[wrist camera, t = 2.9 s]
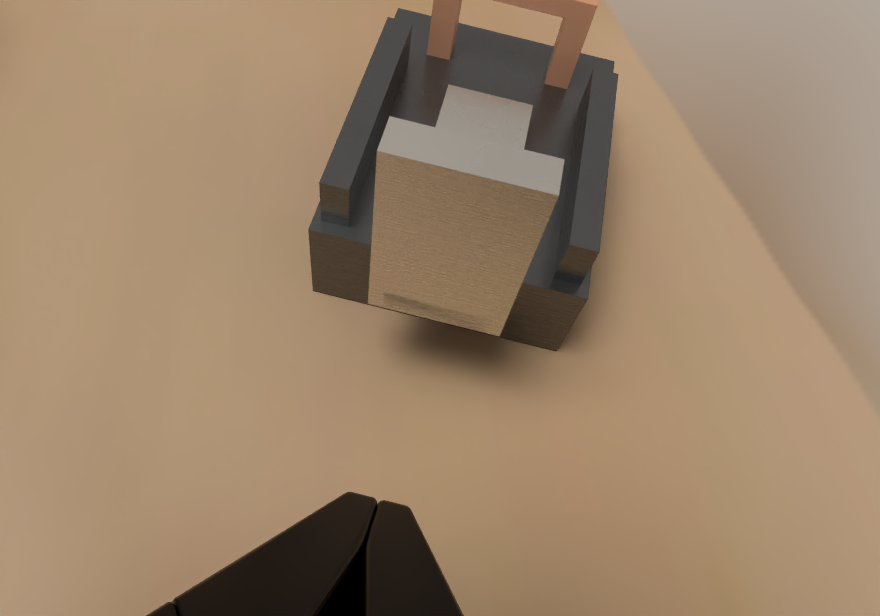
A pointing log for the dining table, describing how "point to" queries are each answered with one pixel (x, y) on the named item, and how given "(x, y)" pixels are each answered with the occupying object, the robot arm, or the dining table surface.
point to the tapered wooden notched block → (459, 211)
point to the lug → (570, 3)
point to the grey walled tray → (550, 132)
